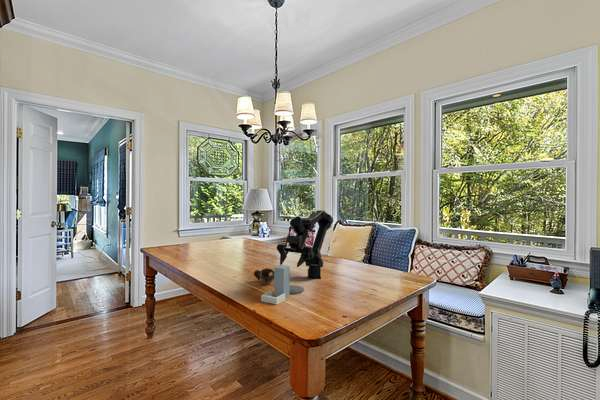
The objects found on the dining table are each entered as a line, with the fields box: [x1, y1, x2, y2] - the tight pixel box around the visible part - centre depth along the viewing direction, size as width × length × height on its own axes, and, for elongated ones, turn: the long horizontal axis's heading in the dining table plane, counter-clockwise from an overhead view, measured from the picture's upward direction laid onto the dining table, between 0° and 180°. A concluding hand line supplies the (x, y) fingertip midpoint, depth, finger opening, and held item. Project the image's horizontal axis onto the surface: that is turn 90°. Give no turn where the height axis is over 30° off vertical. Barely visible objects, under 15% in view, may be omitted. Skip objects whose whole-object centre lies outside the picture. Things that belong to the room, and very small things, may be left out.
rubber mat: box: [290, 284, 305, 295], centre depth 137 cm, size 12×12×1 cm
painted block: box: [273, 264, 291, 298], centre depth 129 cm, size 5×5×13 cm
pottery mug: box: [253, 267, 274, 286], centre depth 149 cm, size 12×10×8 cm
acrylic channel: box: [260, 290, 286, 305], centre depth 123 cm, size 7×8×2 cm
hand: (288, 265), depth 135 cm, fingers open, 9 cm apart
